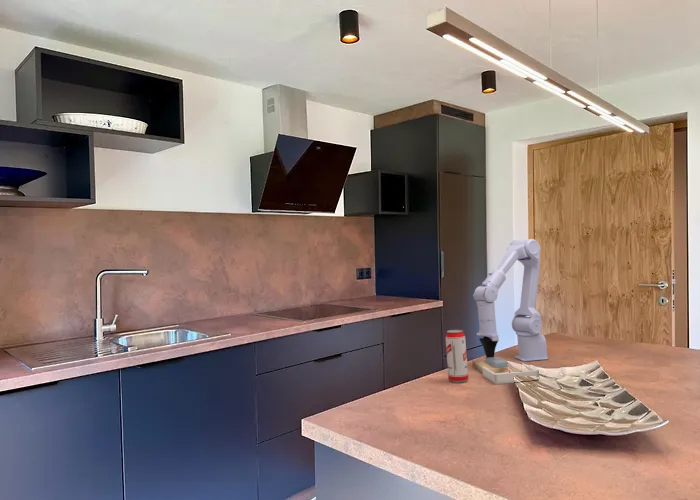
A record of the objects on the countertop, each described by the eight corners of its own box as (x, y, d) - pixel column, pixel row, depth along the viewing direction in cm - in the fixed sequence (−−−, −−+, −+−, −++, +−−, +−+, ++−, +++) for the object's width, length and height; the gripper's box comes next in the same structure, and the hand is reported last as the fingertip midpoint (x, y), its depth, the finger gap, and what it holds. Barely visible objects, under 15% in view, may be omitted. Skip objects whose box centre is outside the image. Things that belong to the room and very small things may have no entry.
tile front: (503, 364, 166) (503, 359, 167) (508, 366, 162) (508, 362, 162) (490, 365, 166) (490, 360, 166) (495, 368, 162) (495, 363, 162)
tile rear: (498, 361, 171) (497, 356, 172) (503, 363, 167) (502, 359, 167) (485, 362, 171) (485, 357, 171) (490, 365, 167) (489, 360, 167)
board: (505, 364, 175) (505, 358, 175) (521, 372, 161) (521, 366, 161) (472, 367, 174) (472, 361, 174) (486, 376, 160) (485, 369, 160)
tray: (524, 372, 161) (523, 363, 161) (539, 380, 150) (538, 370, 150) (483, 376, 160) (482, 367, 160) (495, 384, 149) (494, 374, 149)
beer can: (467, 378, 159) (463, 328, 160) (470, 382, 153) (466, 331, 154) (447, 379, 160) (444, 330, 160) (449, 383, 154) (445, 333, 154)
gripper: (469, 318, 180) (472, 355, 180) (482, 323, 166) (486, 363, 165) (488, 317, 181) (491, 353, 180) (503, 321, 166) (506, 361, 166)
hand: (490, 358), depth 173 cm, fingers closed
